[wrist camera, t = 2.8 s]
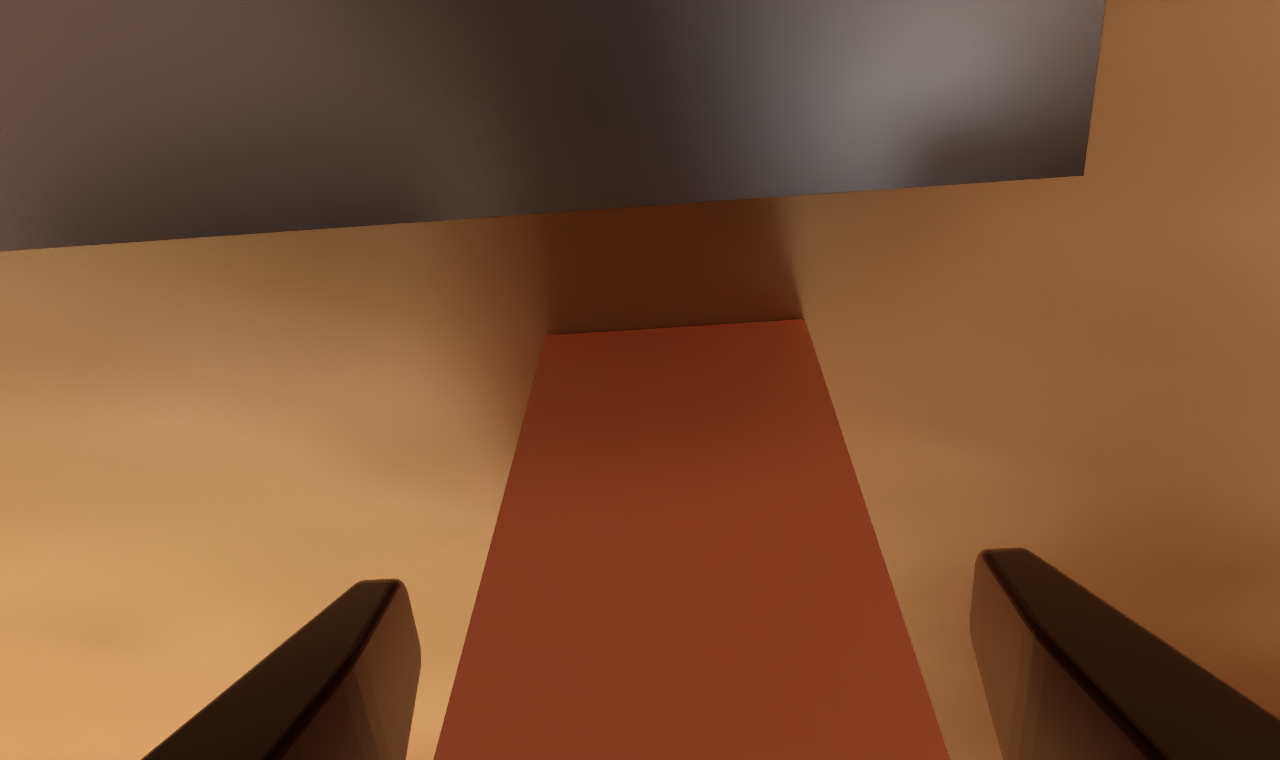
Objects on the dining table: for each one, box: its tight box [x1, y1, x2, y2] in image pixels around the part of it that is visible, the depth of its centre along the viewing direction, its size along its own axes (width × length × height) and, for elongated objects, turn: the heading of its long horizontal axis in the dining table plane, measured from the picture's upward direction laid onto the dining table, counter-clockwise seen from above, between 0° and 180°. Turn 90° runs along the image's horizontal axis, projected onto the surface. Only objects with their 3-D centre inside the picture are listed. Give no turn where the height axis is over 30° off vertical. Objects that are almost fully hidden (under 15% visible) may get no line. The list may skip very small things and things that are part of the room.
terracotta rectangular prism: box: [434, 319, 950, 760], centre depth 8 cm, size 3×3×9 cm
